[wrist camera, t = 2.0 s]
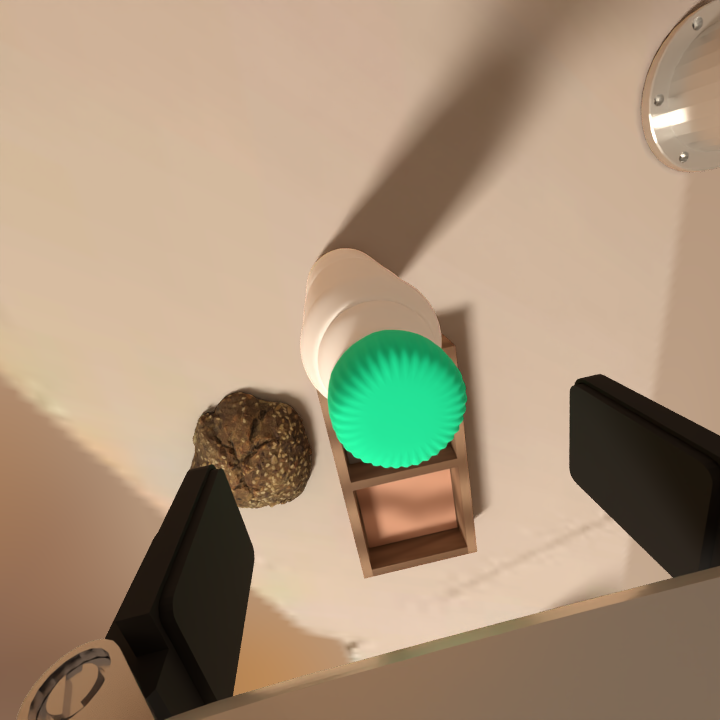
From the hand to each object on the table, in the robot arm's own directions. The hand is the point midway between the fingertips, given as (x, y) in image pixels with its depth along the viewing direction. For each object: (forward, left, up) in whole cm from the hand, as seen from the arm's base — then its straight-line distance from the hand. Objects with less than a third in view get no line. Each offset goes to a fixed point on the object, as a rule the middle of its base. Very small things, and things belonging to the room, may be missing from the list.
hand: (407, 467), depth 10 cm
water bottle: (0, 0, -28) cm, 28 cm away
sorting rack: (-2, +19, -27) cm, 33 cm away
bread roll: (+12, +14, -28) cm, 34 cm away
